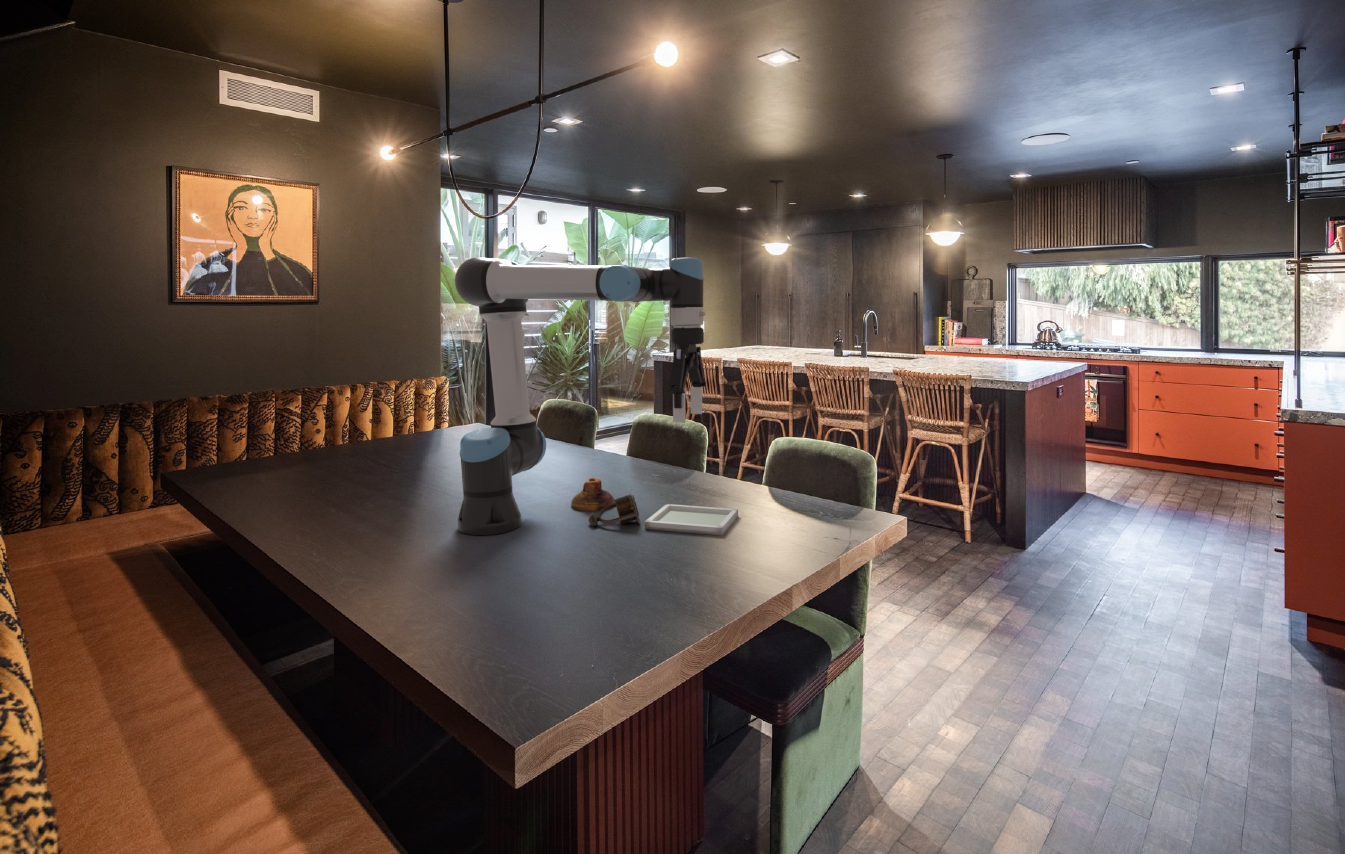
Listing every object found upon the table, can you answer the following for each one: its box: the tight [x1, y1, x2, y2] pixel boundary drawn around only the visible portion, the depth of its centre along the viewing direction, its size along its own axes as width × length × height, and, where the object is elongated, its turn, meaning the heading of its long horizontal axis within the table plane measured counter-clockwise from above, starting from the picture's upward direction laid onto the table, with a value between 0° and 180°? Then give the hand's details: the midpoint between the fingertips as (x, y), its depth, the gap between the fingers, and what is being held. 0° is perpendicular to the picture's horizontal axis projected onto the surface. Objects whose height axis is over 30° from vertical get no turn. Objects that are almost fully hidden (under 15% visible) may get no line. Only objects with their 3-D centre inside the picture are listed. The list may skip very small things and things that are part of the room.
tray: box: [644, 503, 739, 536], centre depth 174 cm, size 19×16×2 cm
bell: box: [570, 477, 615, 512], centre depth 191 cm, size 12×12×7 cm
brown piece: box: [588, 493, 641, 527], centre depth 175 cm, size 7×13×10 cm
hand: (688, 418), depth 167 cm, fingers open, 13 cm apart
